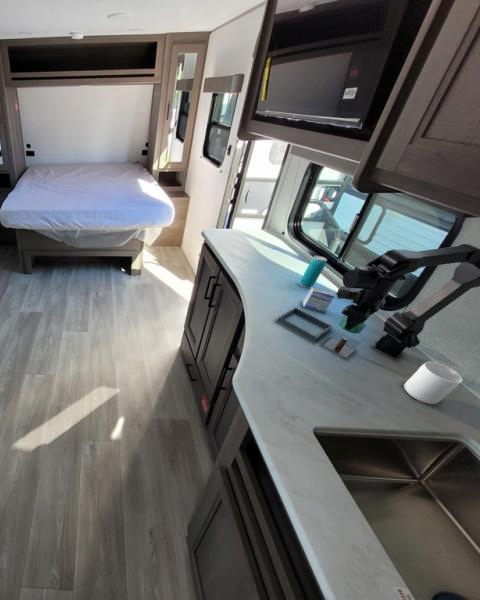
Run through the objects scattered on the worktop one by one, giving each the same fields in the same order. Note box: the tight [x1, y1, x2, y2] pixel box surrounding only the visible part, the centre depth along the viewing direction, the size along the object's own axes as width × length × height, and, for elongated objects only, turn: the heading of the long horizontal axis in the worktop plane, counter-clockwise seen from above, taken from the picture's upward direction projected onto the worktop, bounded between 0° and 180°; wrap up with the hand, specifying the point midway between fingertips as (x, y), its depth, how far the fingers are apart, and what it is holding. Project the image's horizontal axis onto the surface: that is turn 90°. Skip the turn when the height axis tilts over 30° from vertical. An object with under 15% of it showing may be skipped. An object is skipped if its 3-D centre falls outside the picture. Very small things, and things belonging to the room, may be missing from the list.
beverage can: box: [299, 255, 328, 289], centre depth 145 cm, size 6×6×15 cm
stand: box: [323, 336, 356, 359], centre depth 111 cm, size 8×8×5 cm
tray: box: [276, 307, 333, 343], centre depth 122 cm, size 14×13×2 cm
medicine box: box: [302, 286, 335, 313], centre depth 131 cm, size 8×4×9 cm, turn 62°
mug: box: [403, 361, 464, 405], centre depth 95 cm, size 12×8×10 cm
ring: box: [337, 315, 367, 334], centre depth 107 cm, size 6×6×3 cm
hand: (350, 326), depth 107 cm, fingers closed on ring, 6 cm apart
